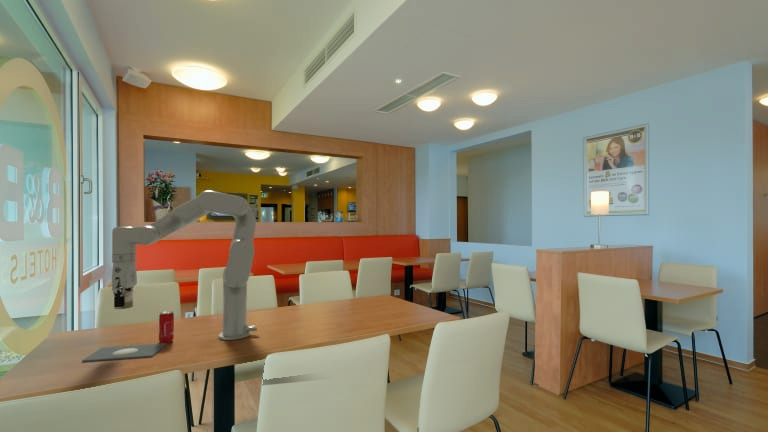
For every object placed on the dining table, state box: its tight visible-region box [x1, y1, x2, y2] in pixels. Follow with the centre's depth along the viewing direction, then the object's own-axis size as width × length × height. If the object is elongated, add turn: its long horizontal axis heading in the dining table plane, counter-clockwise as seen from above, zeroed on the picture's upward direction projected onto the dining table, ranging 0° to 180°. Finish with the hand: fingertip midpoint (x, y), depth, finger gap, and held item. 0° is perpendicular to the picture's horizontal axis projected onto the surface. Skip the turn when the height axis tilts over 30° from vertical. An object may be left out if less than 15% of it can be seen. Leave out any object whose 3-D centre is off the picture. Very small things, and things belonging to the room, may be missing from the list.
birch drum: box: [113, 290, 134, 310], centre depth 142 cm, size 6×6×6 cm
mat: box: [81, 343, 167, 363], centre depth 138 cm, size 22×14×1 cm, turn 104°
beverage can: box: [158, 310, 175, 344], centre depth 151 cm, size 5×5×12 cm
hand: (123, 304), depth 142 cm, fingers closed on birch drum, 6 cm apart
